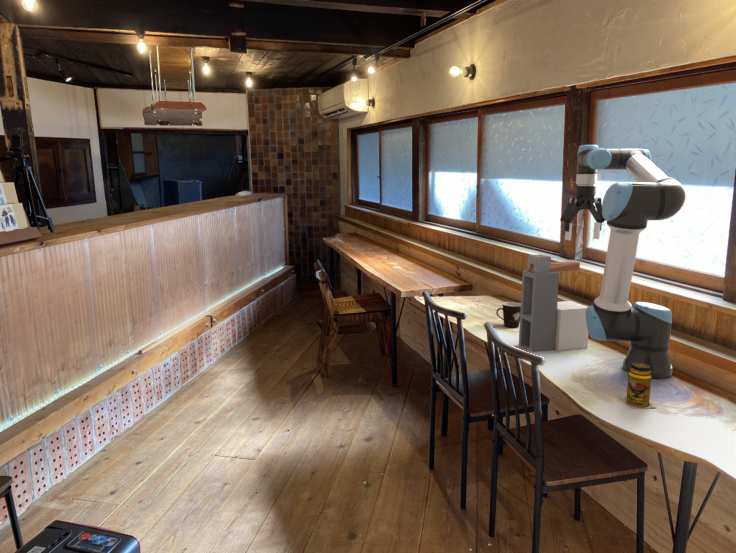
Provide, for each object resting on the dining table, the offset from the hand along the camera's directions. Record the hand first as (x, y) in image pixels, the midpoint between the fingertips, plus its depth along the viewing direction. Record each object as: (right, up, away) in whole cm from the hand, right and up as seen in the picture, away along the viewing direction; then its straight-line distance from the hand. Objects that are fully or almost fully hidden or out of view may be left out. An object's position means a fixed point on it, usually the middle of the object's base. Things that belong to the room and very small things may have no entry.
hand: (582, 239), depth 218 cm
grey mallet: (-14, -13, -9) cm, 21 cm away
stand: (-20, -42, -5) cm, 47 cm away
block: (-8, -42, -2) cm, 43 cm away
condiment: (-6, -52, -56) cm, 77 cm away
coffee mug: (-23, -37, +25) cm, 50 cm away
